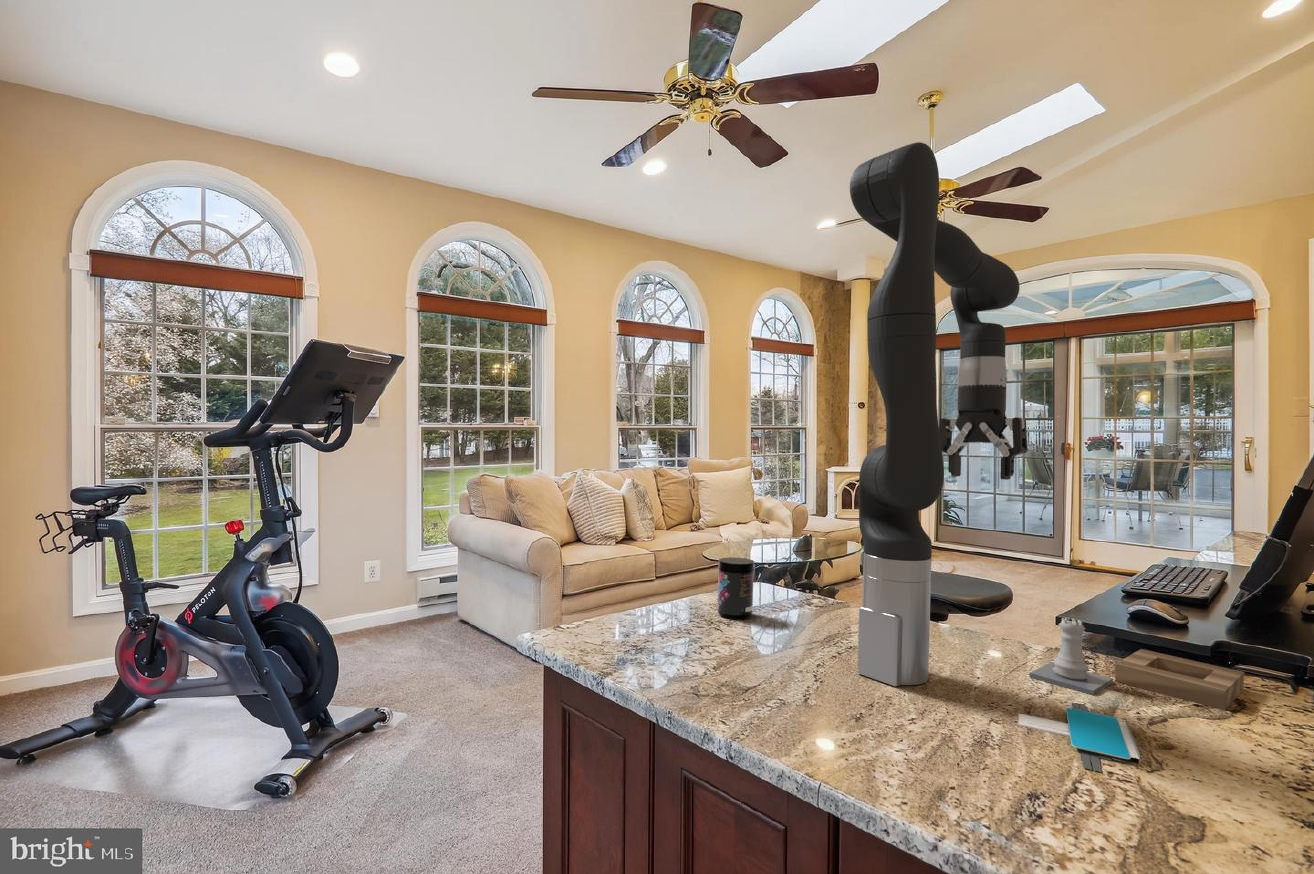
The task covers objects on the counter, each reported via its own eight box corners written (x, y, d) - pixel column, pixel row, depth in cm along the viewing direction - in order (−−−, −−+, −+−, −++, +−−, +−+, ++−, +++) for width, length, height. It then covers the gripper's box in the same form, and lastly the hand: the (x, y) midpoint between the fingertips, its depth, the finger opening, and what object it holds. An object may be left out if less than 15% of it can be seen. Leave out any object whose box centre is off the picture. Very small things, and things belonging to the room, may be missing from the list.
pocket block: (1224, 710, 82) (1225, 690, 82) (1115, 681, 92) (1115, 663, 92) (1243, 689, 90) (1244, 672, 90) (1140, 664, 99) (1141, 648, 99)
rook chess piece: (1095, 682, 89) (1096, 625, 89) (1060, 679, 90) (1061, 622, 90) (1080, 671, 93) (1082, 617, 94) (1047, 668, 94) (1048, 614, 94)
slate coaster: (1093, 695, 86) (1093, 690, 86) (1029, 676, 92) (1029, 672, 92) (1112, 682, 91) (1112, 678, 91) (1051, 666, 97) (1051, 662, 97)
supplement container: (727, 608, 126) (728, 555, 126) (758, 614, 122) (760, 560, 122) (710, 615, 120) (712, 560, 120) (743, 622, 116) (744, 565, 116)
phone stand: (1019, 697, 86) (1019, 685, 86) (1127, 719, 80) (1128, 705, 80) (1017, 758, 69) (1018, 743, 69) (1155, 791, 63) (1156, 775, 63)
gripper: (931, 385, 114) (929, 475, 114) (1015, 380, 102) (1013, 480, 102) (952, 388, 118) (951, 475, 118) (1035, 384, 107) (1033, 480, 107)
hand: (979, 477), depth 110 cm, fingers open, 8 cm apart
